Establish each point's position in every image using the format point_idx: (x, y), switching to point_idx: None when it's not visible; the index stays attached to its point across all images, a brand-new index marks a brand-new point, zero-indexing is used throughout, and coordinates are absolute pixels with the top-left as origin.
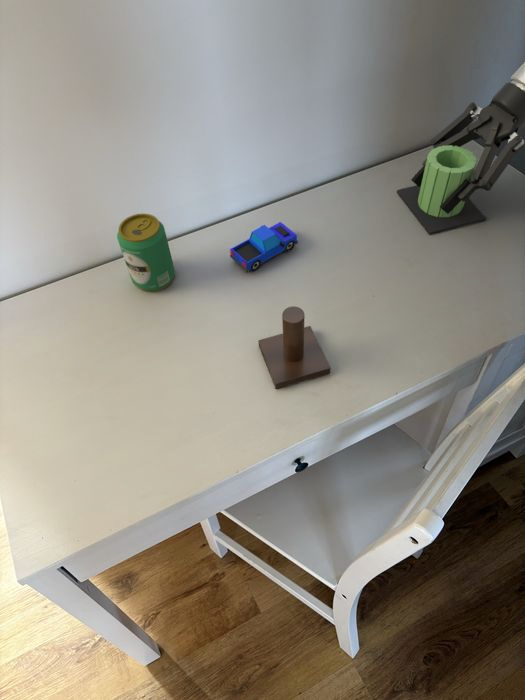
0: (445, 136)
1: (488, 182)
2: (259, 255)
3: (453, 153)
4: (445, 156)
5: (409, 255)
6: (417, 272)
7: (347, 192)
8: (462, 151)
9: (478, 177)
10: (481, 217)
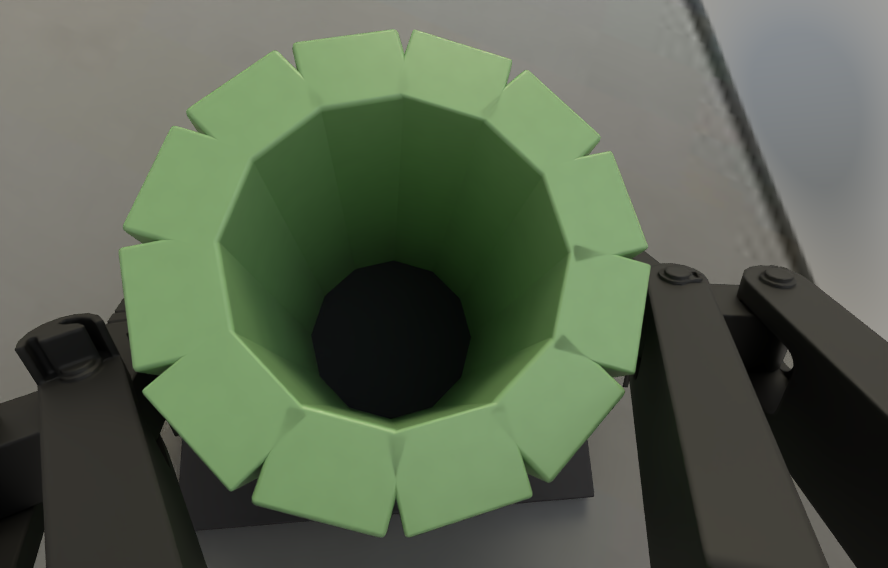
0: (802, 369)
1: (10, 527)
2: None
3: (531, 352)
4: (539, 292)
5: (121, 59)
6: (4, 42)
7: (602, 16)
8: (491, 422)
9: (45, 412)
10: (191, 504)
